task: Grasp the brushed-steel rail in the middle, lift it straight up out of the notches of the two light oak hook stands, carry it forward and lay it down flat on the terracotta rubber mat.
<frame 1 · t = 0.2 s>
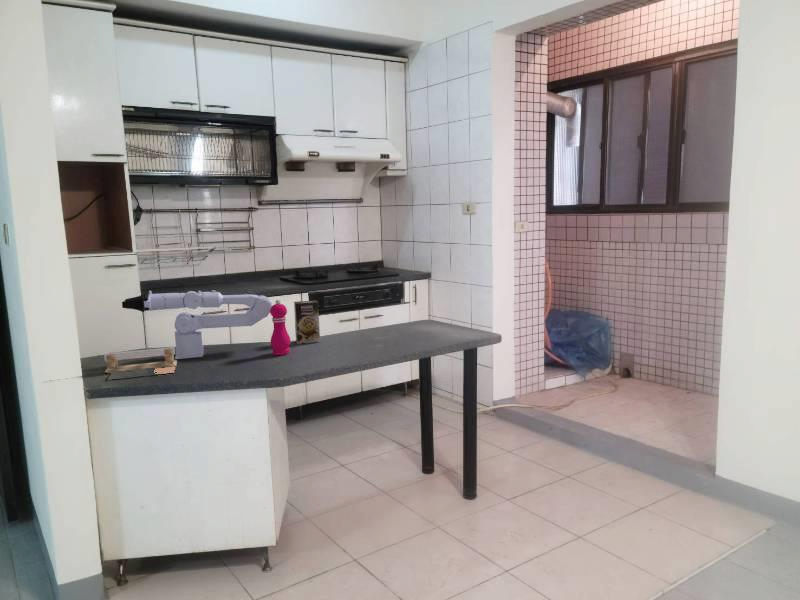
hand: (123, 303, 206), 21 cm above the countertop, tool horizontal, fingers open, 7 cm apart
hook stand: (142, 368, 200), on the countertop
pepper mill: (281, 354, 214), on the countertop
coffee box: (308, 342, 233), on the countertop
steel rail: (140, 357, 199), point 4 cm above the countertop, touching hook stand
terracotta mat: (142, 374, 193), on the countertop
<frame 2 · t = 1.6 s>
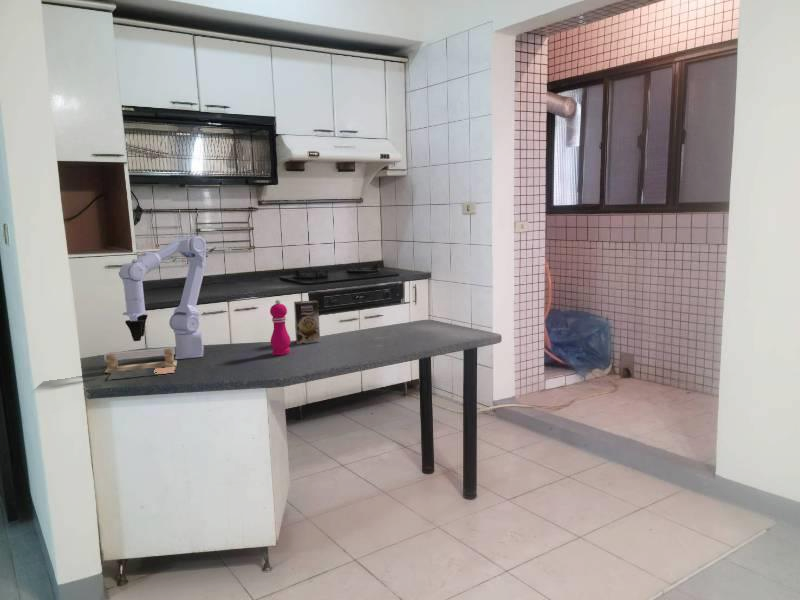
hand: (138, 338, 198), 10 cm above the countertop, tool pointing down, fingers open, 7 cm apart
nothing on the countertop moved.
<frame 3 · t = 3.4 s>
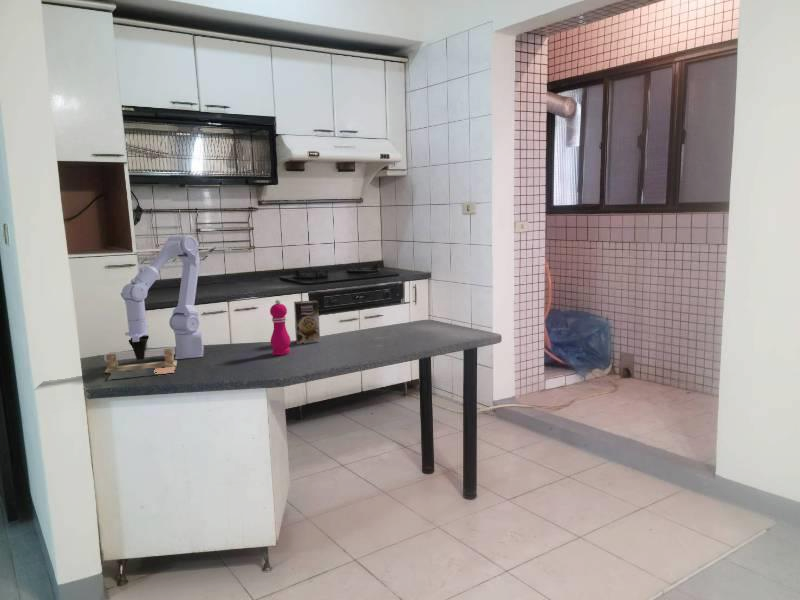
hand: (140, 358, 200), 4 cm above the countertop, tool pointing down, fingers closed on steel rail, 2 cm apart
steel rail: (140, 357, 199), point 4 cm above the countertop, touching gripper, hook stand
everything else where it was.
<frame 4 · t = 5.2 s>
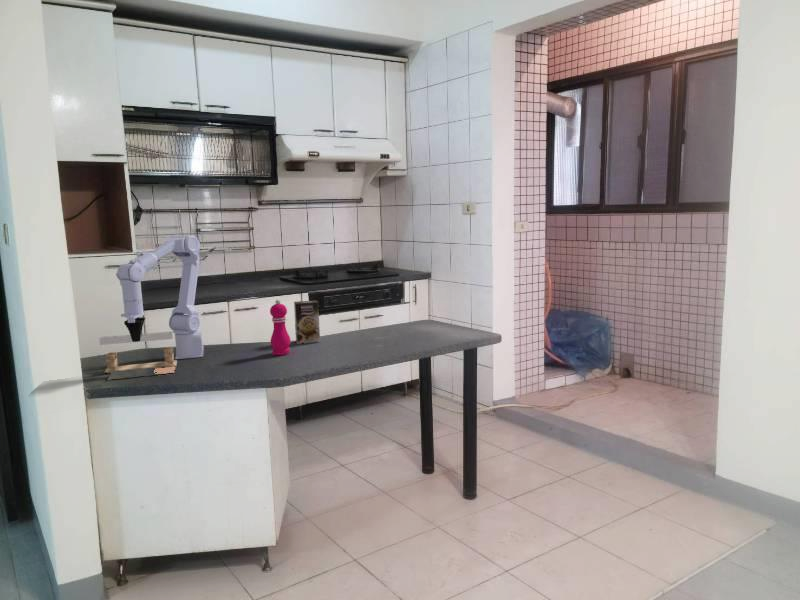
hand: (136, 340, 195), 11 cm above the countertop, tool pointing down, fingers closed on steel rail, 2 cm apart
steel rail: (137, 341, 195), point 10 cm above the countertop, touching gripper
everything else where it was.
when the fingers open (2 cm above the countertop, at t = 7.4 s): steel rail stays where it is, resting on terracotta mat.
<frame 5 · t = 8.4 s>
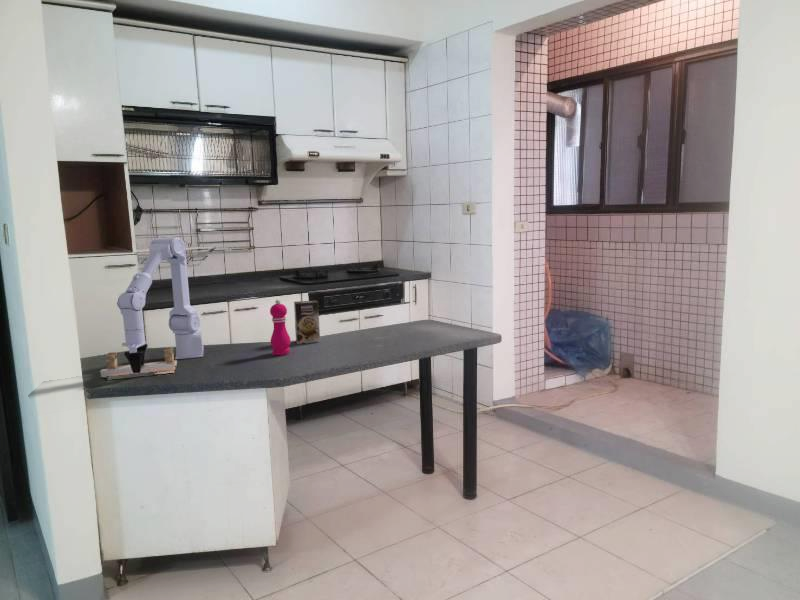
hand: (138, 369, 192), 2 cm above the countertop, tool pointing down, fingers open, 7 cm apart
steel rail: (138, 373, 192), resting on terracotta mat
everything else where it was.
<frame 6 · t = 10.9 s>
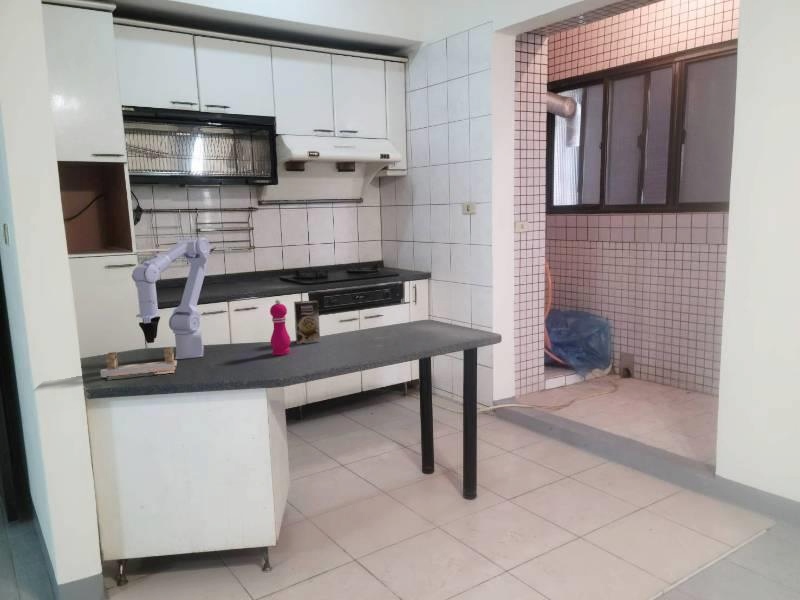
hand: (151, 340, 200), 9 cm above the countertop, tool pointing down, fingers open, 7 cm apart
nothing on the countertop moved.
at the end: steel rail inside the target area (0.0 cm from its centre), point 0.5 cm above the countertop; steel rail tilted 0°; the gripper is holding nothing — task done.
